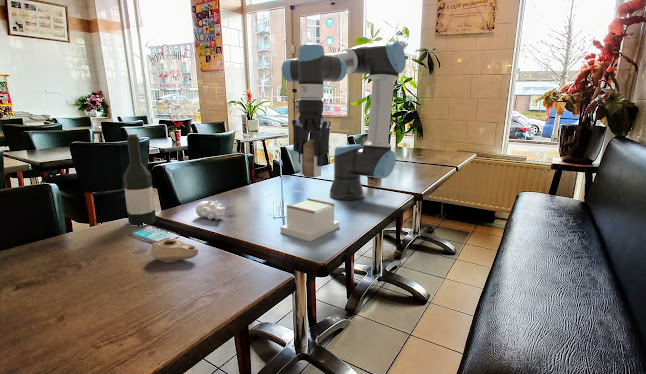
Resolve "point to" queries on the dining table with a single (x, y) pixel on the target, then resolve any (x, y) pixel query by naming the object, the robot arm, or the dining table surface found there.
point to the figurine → (210, 210)
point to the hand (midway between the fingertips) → (310, 174)
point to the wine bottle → (138, 187)
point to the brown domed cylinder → (309, 158)
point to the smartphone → (151, 235)
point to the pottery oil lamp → (172, 250)
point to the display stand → (310, 219)
